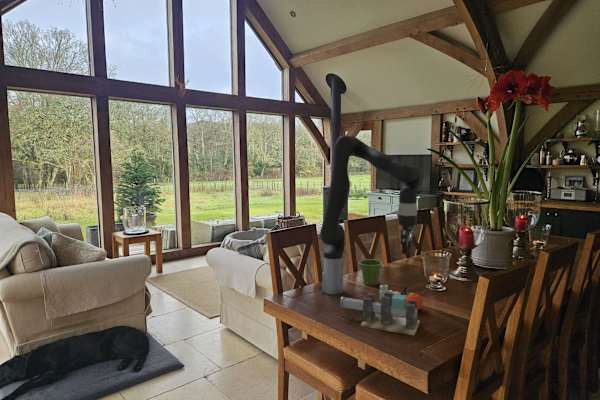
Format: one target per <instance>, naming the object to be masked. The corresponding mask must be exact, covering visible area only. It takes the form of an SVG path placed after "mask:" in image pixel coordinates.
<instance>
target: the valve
mask: <svg viewBox="0 0 600 400" xmlns="http://www.w3.org/2000/svg"><path fill="white" fill-rule="evenodd" d="M403 289H404V290H402V291H400V292H399V291H393V289H389V285H387V284H380V285H379V292H378V295H379V300H380V301H381V297H382V296H384V293H385V292H390V293H393V296H394V294H399V295H406V294H407V295H406V296H408V291H407V289H408V288H407V287H406V286H404V288H403Z"/></svg>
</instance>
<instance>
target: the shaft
mask: <svg viewBox="0 0 600 400" xmlns="http://www.w3.org/2000/svg"><path fill="white" fill-rule="evenodd" d="M339 306H340V308H343V309H344V308H346V309H353V310H357V311H359V310H360V311H363V299H358V298H357V299H356V298H351V297H345V296H342V295H341V297H340V300H339ZM372 312H375V313H377V314H381V302H378V301H375V302H372ZM417 314H418V311H417V308H415V318H416V316H417V317H418V315H417ZM390 315H393V316H396V317H402V318H406V307H405V309H404V310H399V309H392V304H390Z"/></svg>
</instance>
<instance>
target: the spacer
mask: <svg viewBox="0 0 600 400" xmlns="http://www.w3.org/2000/svg"><path fill="white" fill-rule="evenodd" d="M407 296H408V295H407ZM407 296H406V295H399V294H394V296H393V297H392V309H399V310H404V309H405V307H406V303H407Z"/></svg>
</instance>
